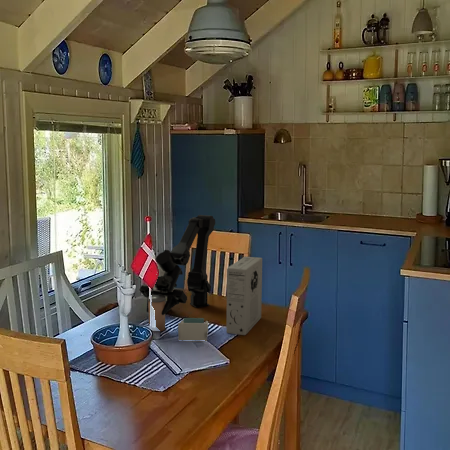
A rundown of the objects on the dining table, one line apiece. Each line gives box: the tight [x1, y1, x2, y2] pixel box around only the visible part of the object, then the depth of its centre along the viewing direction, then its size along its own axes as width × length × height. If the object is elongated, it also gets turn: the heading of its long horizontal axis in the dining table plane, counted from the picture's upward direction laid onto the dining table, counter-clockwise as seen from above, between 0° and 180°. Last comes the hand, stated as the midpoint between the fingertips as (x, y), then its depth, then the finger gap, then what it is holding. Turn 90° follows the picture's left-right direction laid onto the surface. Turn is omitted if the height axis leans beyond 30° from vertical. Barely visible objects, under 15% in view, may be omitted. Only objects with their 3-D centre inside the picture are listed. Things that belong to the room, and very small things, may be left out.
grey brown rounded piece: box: [148, 295, 166, 332], centre depth 208 cm, size 7×7×12 cm
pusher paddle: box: [183, 317, 205, 323], centre depth 202 cm, size 2×7×5 cm, turn 89°
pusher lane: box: [177, 320, 209, 342], centre depth 202 cm, size 12×10×6 cm
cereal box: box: [226, 256, 263, 336], centre depth 212 cm, size 22×8×25 cm, turn 160°
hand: (154, 313), depth 207 cm, fingers closed on grey brown rounded piece, 6 cm apart
